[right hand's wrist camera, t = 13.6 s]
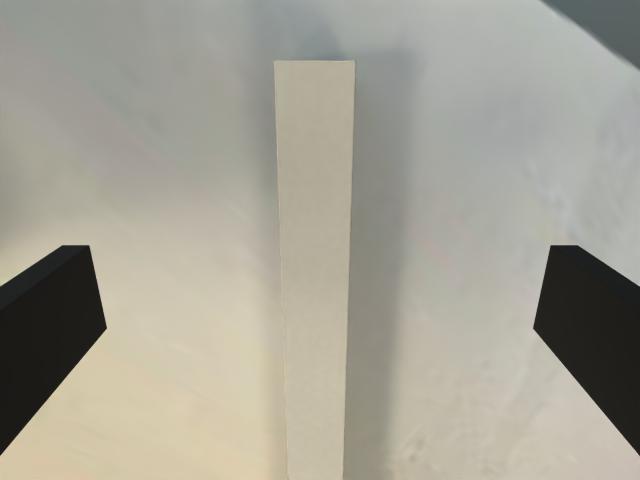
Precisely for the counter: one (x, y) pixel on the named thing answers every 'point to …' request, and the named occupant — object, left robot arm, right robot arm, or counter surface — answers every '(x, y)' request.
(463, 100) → the counter surface
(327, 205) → the beam
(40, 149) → the counter surface
